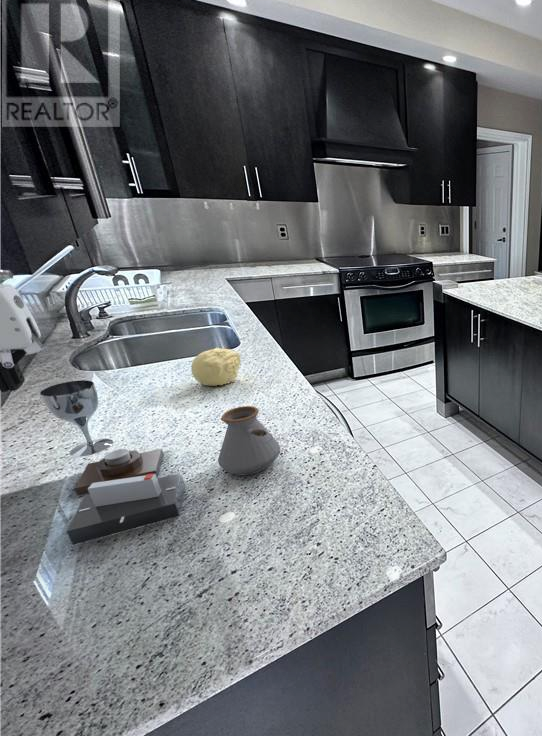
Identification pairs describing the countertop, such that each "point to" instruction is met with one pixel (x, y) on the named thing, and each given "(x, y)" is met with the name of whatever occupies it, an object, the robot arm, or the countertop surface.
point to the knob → (124, 490)
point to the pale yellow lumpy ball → (216, 366)
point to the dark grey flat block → (126, 512)
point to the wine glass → (76, 411)
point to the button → (117, 457)
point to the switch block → (120, 469)
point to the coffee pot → (246, 443)
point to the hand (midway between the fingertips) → (12, 388)
